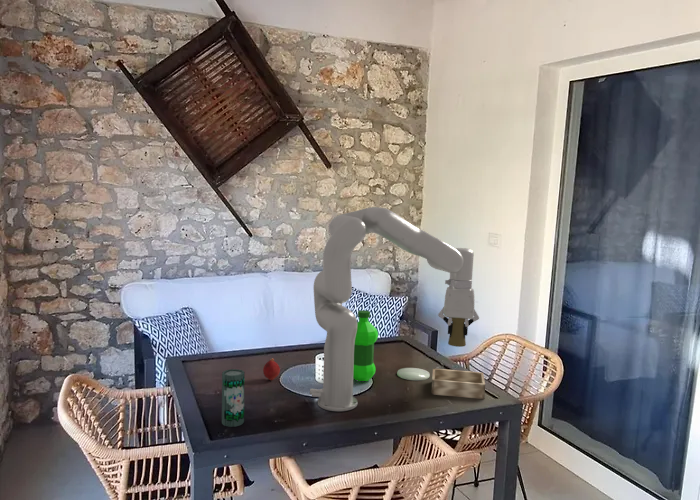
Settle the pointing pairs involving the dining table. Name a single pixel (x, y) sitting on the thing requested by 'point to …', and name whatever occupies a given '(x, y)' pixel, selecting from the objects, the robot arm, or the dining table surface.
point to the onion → (271, 369)
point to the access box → (458, 383)
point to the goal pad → (413, 374)
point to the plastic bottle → (364, 348)
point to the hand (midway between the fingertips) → (457, 336)
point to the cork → (457, 333)
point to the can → (233, 397)
